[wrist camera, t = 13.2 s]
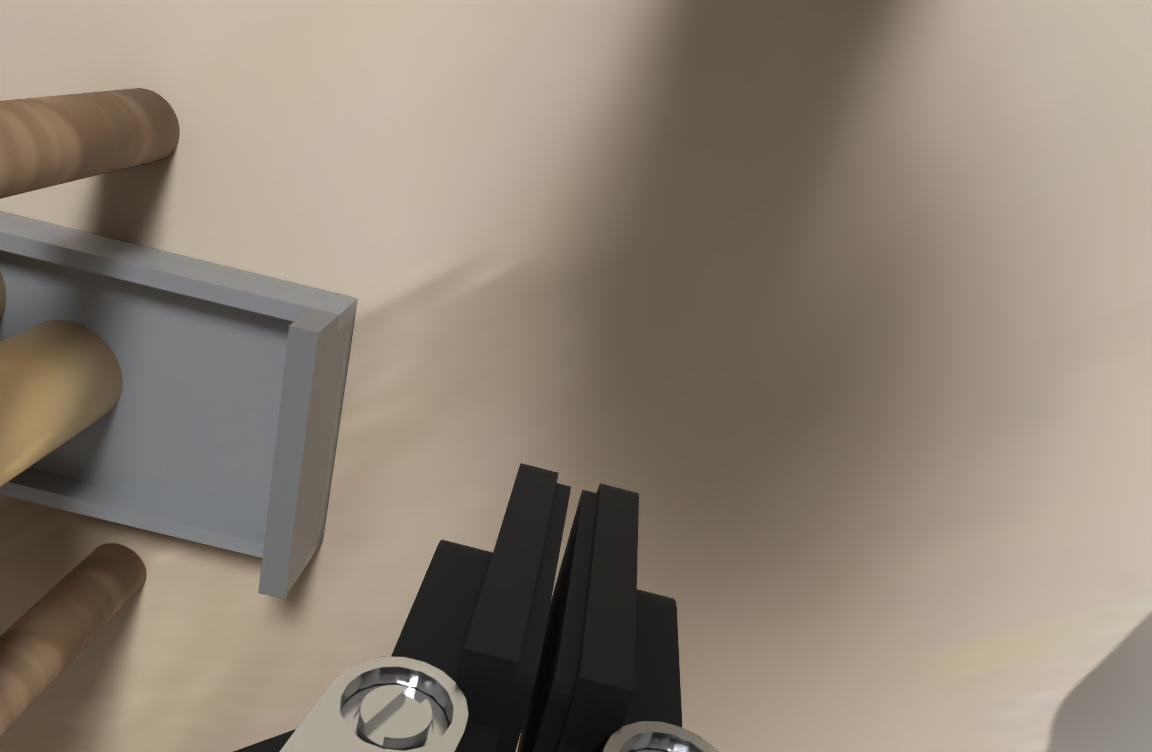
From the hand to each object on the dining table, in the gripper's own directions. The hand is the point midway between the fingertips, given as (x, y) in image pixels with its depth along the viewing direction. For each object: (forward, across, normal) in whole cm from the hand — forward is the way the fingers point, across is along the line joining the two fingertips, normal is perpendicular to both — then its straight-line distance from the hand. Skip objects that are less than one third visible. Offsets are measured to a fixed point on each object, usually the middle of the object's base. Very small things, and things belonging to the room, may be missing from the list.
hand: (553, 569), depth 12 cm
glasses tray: (+27, +21, +13) cm, 37 cm away
